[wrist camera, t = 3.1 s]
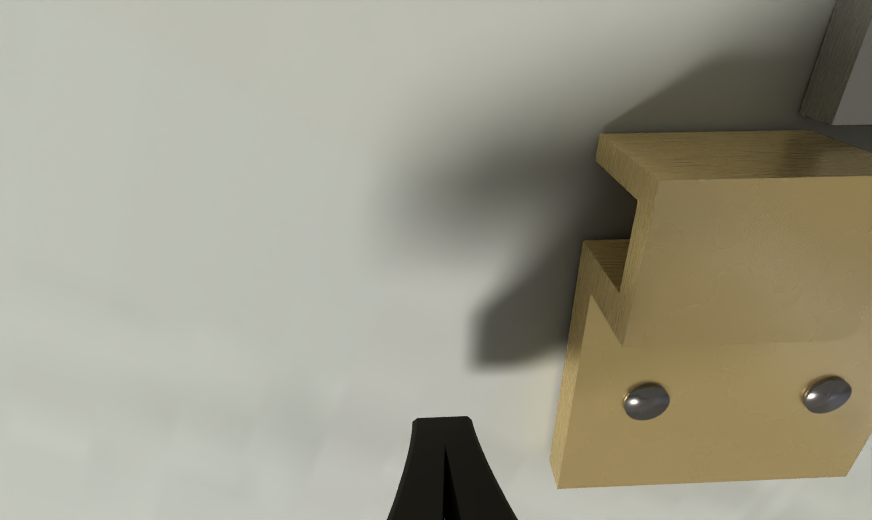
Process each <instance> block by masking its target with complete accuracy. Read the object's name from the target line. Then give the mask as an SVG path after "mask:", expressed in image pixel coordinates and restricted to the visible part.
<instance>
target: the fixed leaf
mask: <svg viewBox="0 0 872 520" xmlns="http://www.w3.org/2000/svg"><path fill="white" fill-rule="evenodd" d="M799 115H802V116H805V117H808V118H811V119H814V120H817V121H820V122H823V123H826V124H829V125H872V0H837V2H836V5H835V8H834V11H833V14H832V17H831V19H830V22H829V25H828V28H827V31H826V34H825V37H824V40H823V43H822V46H821V49H820V52H819V55H818V58H817V61H816V64H815V67H814V70H813V73H812V76H811V78H810V81H809V84H808V87H807V90H806V93H805V96H804V99H803V102H802V105H801V108H800V111H799Z"/></svg>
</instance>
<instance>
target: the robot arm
mask: <svg viewBox="0 0 872 520" xmlns="http://www.w3.org/2000/svg"><path fill="white" fill-rule="evenodd" d="M387 520H518V519H517V517H516V516H515V514H514V512H513V510H512V509H511V507H510V505H509V503H508V501H507V500H506V498H505V496H504V494H503V492H502V490H501V488H500V486H499V484H498V482H497V480H496V479H495V477H494V475H493V473H492V470H491V468H490V466H489V464H488V462H487V460H486V457H485V455H484V453H483V451H482V448H481V446H480V443H479V441H478V438H477V436H476V433H475V430H474V427H473V423H472V420H471V419H470V418H469V417H468V416H459V417H435V418H417V419H416V420H414V421H413V424H412V435H411V441H410V446H409V451H408V455H407V459H406V463H405V467H404V471H403V474H402V477H401V480H400V484H399V487H398V490H397V493H396V497H395V499H394V502H393V505H392V508H391V510H390V513H389V516H388V518H387Z"/></svg>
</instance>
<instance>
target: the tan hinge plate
mask: <svg viewBox="0 0 872 520" xmlns="http://www.w3.org/2000/svg"><path fill="white" fill-rule="evenodd" d="M595 161H596V162H597V163H599V164H600V165H601V166H602V167H603V168H604V169H605V170H606V171H607V172H608V173H609V174H610V175H611V176H612V177H613V178H614V179H616V180H617V181H618V182H619V183H620V184H621V185H622V186H623V187H624V188H625V189H626V190H627V191H628V192H629V193H630V194H631V195H633V196H634V197H635V198H636V199H637V200H638V203H637V208H636V213H635V218H634V223H633V228H632V233H631V238H630V239H614V240H583V244H582V251H581V257H580V264H579V270H578V277H577V284H576V290H575V297H574V303H573V310H572V316H571V323H570V330H569V336H568V343H567V349H566V356H565V363H564V369H563V376H562V382H561V389H560V395H559V402H558V409H557V415H556V422H555V428H554V435H553V441H552V448H551V455H550V465H551V468H552V471H553V475H554V478H555V482H556V485H557V489H564V488H587V487H610V486H633V485H656V484H679V483H703V482H726V481H749V480H772V479H795V478H818V477H841V476H846V475H847V474H848V472H849V470H850V469H851V467H852V465H853V464H854V462H855V460H856V458H857V457H858V455H859V453H860V452H861V450H862V448H863V447H864V445H865V443H866V441H867V440H868V438H869V436H870V435H871V433H872V153H871V152H869V151H866V150H863V149H860V148H858V147H855V146H852V145H849V144H846V143H844V142H841V141H838V140H835V139H832V138H830V137H827V136H824V135H821V134H819V133H816V132H813V131H810V130H778V131H722V132H666V133H610V134H599V139H598V146H597V152H596V159H595Z"/></svg>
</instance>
